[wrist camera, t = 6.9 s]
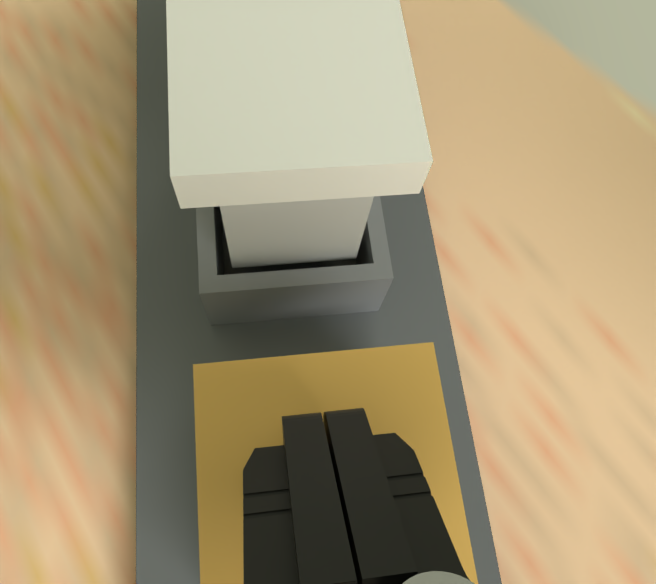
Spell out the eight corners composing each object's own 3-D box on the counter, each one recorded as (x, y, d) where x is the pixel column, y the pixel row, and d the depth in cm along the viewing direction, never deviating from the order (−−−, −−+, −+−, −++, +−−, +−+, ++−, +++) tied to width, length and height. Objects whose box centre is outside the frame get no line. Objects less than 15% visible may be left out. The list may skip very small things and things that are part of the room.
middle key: (201, 143, 18) (165, -24, 12) (359, 135, 18) (393, -29, 13) (208, 292, 16) (169, 176, 11) (382, 278, 17) (433, 160, 11)
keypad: (143, 6, 24) (118, -85, 21) (376, 1, 25) (393, -88, 22) (146, 666, 16) (104, 713, 12) (494, 614, 17) (554, 642, 13)
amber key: (221, 413, 17) (193, 364, 12) (386, 396, 18) (433, 342, 12) (231, 600, 15) (202, 648, 10) (412, 574, 16) (482, 607, 10)
